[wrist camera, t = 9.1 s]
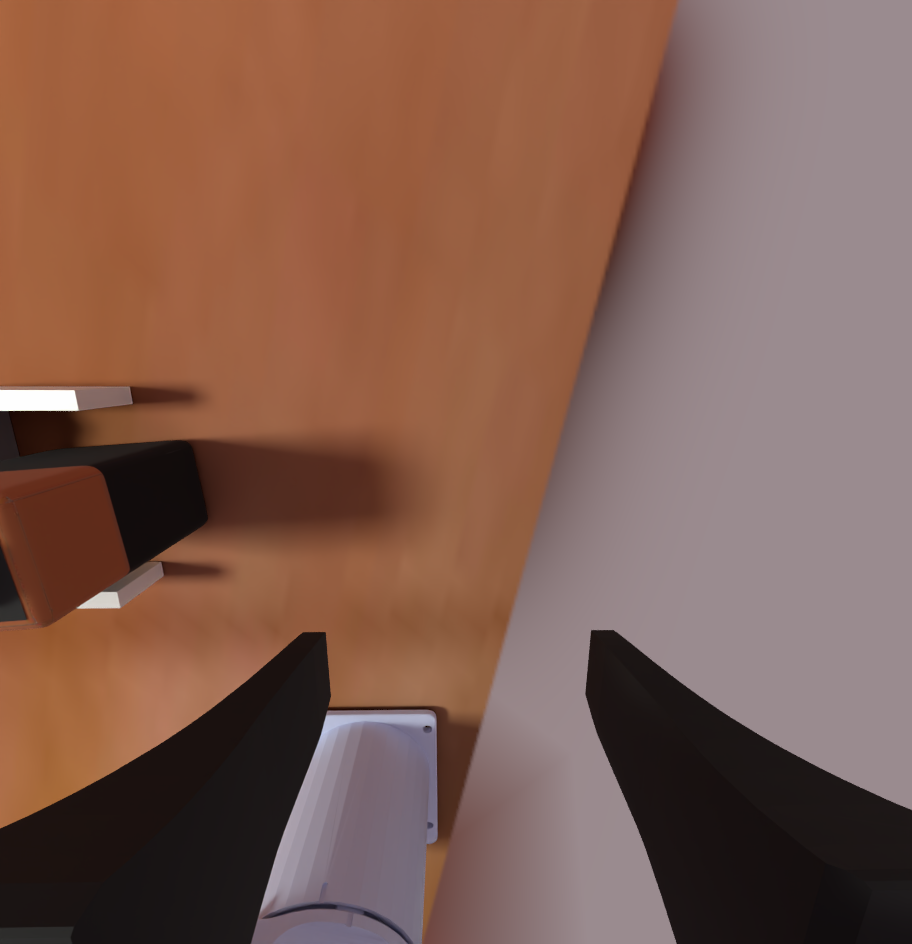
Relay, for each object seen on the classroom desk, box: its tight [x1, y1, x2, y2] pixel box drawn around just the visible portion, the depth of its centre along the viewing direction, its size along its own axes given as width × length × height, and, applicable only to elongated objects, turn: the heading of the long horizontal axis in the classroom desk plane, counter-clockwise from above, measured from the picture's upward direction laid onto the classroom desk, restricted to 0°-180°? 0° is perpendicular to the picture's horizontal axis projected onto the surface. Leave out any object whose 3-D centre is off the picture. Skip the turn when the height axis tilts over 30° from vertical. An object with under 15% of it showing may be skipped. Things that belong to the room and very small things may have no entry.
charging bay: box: [0, 386, 164, 608], centre depth 19 cm, size 10×7×3 cm
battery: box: [0, 440, 208, 631], centre depth 16 cm, size 4×7×10 cm, turn 94°
